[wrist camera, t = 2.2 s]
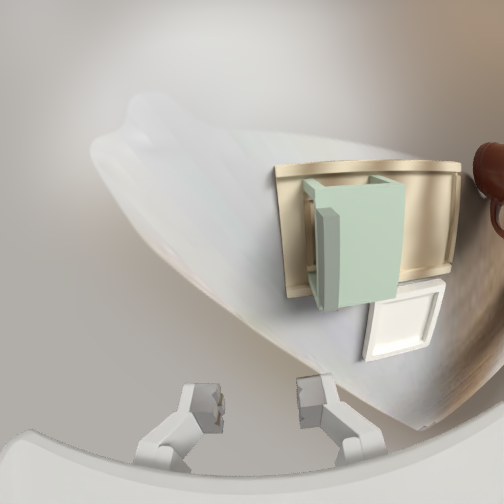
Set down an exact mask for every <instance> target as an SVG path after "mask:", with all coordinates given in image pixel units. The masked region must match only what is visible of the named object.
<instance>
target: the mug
mask: <svg viewBox="0 0 504 504" xmlns="http://www.w3.org/2000/svg"><path fill="white" fill-rule="evenodd" d="M473 174H474V179H475V183H476V186H477V188H478V189H479V190H480V191H481V192H482V193H483V194H484V195H485V196H487V197H489V198H490V199H491V203H490V216H491V222H492V225H493V227H494V229H495V231H496V232H497V234H498V235H499V236H500V237H502V238H503V239H504V230H503V229H502V228H501V226H500V223H499V212H500V209H501V207H502V206H503V205H504V144H500V143H496V142H494V143H490V142H489V143H485V144H483V145H481V146H480V147H479V148H478V150H477V152H476V154H475V157H474V162H473Z"/></svg>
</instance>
